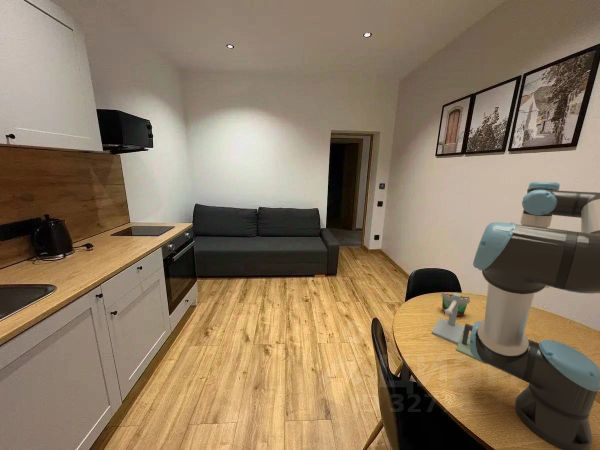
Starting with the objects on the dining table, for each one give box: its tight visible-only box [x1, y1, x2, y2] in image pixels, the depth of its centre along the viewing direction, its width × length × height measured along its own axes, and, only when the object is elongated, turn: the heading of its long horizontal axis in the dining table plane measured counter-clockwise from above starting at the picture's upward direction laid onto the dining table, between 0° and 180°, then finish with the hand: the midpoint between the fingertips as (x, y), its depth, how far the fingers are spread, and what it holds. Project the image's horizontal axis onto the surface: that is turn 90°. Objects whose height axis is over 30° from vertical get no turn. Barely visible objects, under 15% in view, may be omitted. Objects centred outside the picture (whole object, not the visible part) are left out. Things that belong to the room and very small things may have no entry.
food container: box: [440, 292, 471, 318], centre depth 118 cm, size 12×6×10 cm, turn 72°
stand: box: [431, 292, 465, 346], centre depth 105 cm, size 15×10×16 cm
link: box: [462, 323, 474, 345], centre depth 96 cm, size 2×8×9 cm, turn 46°
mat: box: [455, 334, 488, 365], centre depth 97 cm, size 12×10×1 cm
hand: (521, 280), depth 90 cm, fingers open, 13 cm apart
